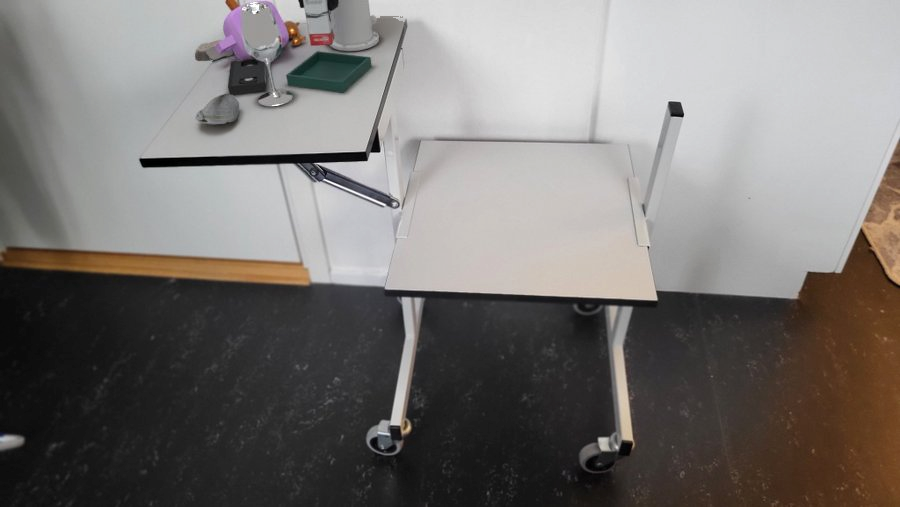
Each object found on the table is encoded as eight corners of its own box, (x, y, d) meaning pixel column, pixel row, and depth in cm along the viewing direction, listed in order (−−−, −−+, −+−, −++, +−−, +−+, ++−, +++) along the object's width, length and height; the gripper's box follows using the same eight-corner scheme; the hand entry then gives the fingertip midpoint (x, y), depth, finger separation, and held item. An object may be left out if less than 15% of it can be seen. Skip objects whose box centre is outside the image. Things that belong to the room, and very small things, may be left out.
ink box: (332, 45, 144) (323, -11, 137) (310, 46, 145) (300, -10, 137) (338, 31, 151) (329, -23, 144) (316, 32, 151) (307, -22, 144)
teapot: (213, 11, 148) (197, 29, 158) (241, 63, 151) (224, 78, 161) (286, -15, 158) (267, 4, 169) (311, 35, 162) (291, 51, 172)
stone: (201, 65, 162) (197, 51, 160) (193, 60, 165) (189, 46, 162) (245, 50, 167) (242, 37, 165) (237, 46, 170) (233, 32, 168)
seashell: (214, 107, 143) (208, 85, 140) (250, 108, 142) (245, 86, 139) (190, 134, 134) (183, 111, 131) (229, 135, 133) (222, 112, 130)
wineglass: (289, 106, 142) (269, 12, 129) (253, 107, 142) (230, 14, 130) (296, 90, 148) (278, -1, 135) (262, 91, 148) (240, 0, 136)
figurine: (284, 54, 167) (320, 35, 171) (279, 41, 164) (315, 22, 168) (262, 43, 174) (297, 25, 178) (257, 31, 172) (292, 12, 176)
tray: (318, 61, 161) (317, 51, 159) (371, 67, 156) (370, 57, 155) (288, 85, 150) (285, 75, 149) (343, 92, 146) (341, 82, 145)
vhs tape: (266, 90, 148) (264, 82, 147) (230, 95, 147) (227, 86, 146) (266, 65, 159) (264, 57, 158) (233, 69, 158) (230, 61, 157)
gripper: (351, -87, 132) (362, 4, 144) (277, -90, 138) (293, -2, 149) (333, -78, 127) (346, 16, 138) (257, -81, 132) (275, 10, 143)
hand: (319, 6), depth 143 cm, fingers closed on ink box, 6 cm apart
